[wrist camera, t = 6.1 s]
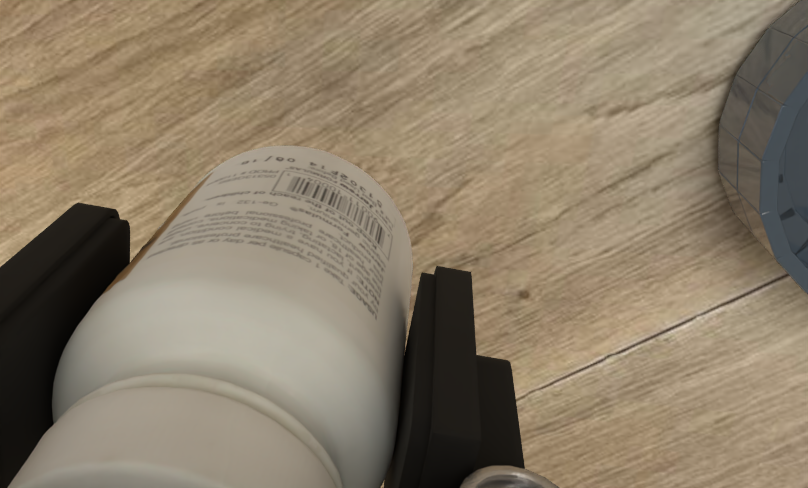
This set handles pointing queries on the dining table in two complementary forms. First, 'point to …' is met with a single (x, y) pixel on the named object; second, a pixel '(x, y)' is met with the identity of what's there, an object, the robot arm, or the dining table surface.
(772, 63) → the bowl
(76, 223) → the robot arm
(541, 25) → the dining table surface
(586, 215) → the dining table surface
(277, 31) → the dining table surface
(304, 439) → the pill bottle
